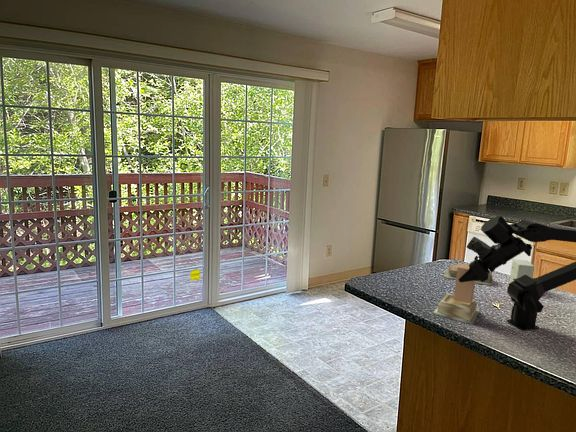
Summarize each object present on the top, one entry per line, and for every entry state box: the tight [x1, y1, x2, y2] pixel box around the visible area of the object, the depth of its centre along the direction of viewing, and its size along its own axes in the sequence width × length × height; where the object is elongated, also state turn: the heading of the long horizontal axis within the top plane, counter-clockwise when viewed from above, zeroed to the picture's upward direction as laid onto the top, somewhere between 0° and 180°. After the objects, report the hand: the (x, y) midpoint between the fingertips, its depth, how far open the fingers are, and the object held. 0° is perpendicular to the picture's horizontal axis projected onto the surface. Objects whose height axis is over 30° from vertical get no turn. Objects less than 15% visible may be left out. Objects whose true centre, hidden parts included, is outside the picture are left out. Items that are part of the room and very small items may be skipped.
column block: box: [453, 263, 476, 304], centre depth 137 cm, size 5×5×11 cm
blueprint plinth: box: [432, 293, 481, 325], centre depth 140 cm, size 12×12×4 cm
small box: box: [508, 258, 535, 285], centre depth 166 cm, size 8×6×10 cm
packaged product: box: [443, 264, 493, 287], centre depth 175 cm, size 18×5×10 cm
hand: (461, 278), depth 138 cm, fingers closed on column block, 5 cm apart
